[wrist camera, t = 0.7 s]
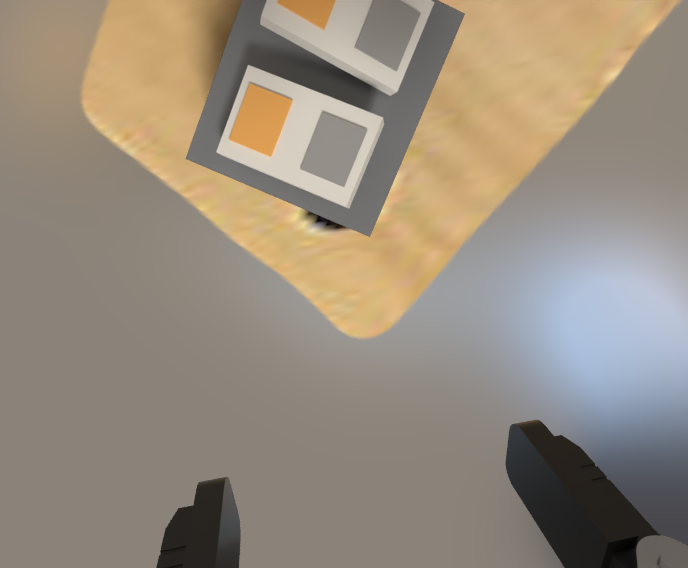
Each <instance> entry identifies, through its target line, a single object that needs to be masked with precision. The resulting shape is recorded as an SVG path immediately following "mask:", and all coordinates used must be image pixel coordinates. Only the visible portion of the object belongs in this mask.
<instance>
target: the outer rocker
mask: <svg viewBox="0 0 688 568" xmlns="http://www.w3.org/2000/svg"><path fill="white" fill-rule="evenodd" d="M383 126H384V120H383V117H380V116H378V115H375V114H373V113H370V112H368V111H365V110H363V109H360V108H357V107H355V106H352V105H350V104H347V103H345V102H342V101H340V100H337V99H334V98H332V97H329V96H327V95H324V94H322V93H319V92H316V91H314V90H311V89H309V88H306V87H304V86H301V85H299V84H296V83H293V82H291V81H288V80H286V79H283V78H281V77H278V76H276V75H273V74H270V73H268V72H265V71H263V70H260V69H258V68H255V67H252V66H250V65H248V66H247V69H246V72H245V75H244V77H243V80H242V83H241V86H240V88H239V91H238V94H237V97H236V99H235V102H234V105H233V108H232V110H231V113H230V116H229V119H228V121H227V124H226V127H225V129H224V132H223V135H222V138H221V140H220V143H219V146H218V149H217V151H216V152H217V153H219V154H221V155H222V156H224V157H227V158H229V159H231V160H234V161H236V162H238V163H241V164H243V165H246V166H248V167H250V168H253V169H255V170H258V171H260V172H262V173H265V174H267V175H269V176H272V177H274V178H277V179H279V180H281V181H284V182H286V183H289V184H291V185H293V186H296V187H298V188H300V189H303V190H305V191H308V192H310V193H312V194H315V195H317V196H320V197H322V198H324V199H327V200H329V201H332V202H334V203H336V204H339V205H341V206H343V207H346V208H348V209H349V208H350V206H351V203H352V201H353V198H354V196H355V194H356V191H357V189H358V186H359V184H360V182H361V179H362V177H363V174H364V172H365V170H366V167H367V165H368V162H369V160H370V157H371V155H372V153H373V150H374V148H375V145H376V143H377V141H378V138H379V136H380V133H381V131H382V129H383Z"/></svg>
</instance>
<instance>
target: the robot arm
mask: <svg viewBox="0 0 688 568" xmlns="http://www.w3.org/2000/svg"><path fill="white" fill-rule="evenodd" d="M506 469H507V474H508V477H509V479H510V482H511V484H512V485H513V487H514V489H515V490H516V492H517V493H518V495H519V497H520V498H521V500H522V501H523V503H524V504H525V506H526V508H527V509H528V511H529V512H530V514H531V515H532V517H533V519H534V520H535V522H536V523H537V525H538V526H539V528H540V530H541V531H542V533H543V534H544V536H545V537H546V539H547V541H548V542H549V544H550V545H551V547H552V549H553V550H554V552H555V553H556V555H557V556H558V558H559V559H560V561H561V563H562V564H563V566H564V567H565V568H688V547H687V546H686V545H684V544H682V543H680V542H678V541H676V540H674V539H671V538H668V537H664V536H660V535H659V534H658V533H657V532H656V531H655V530H654V529H653V528H652V526H651V525H650V524H649V523H648V522H647V521H646V520H645V519H644V518H643V517H642V515H641V514H640V513H639V512H638V511H637V510H636V509H635V508H634V506H633V505H632V504H631V503H630V502H629V501H628V500H627V499H626V498H625V497H624V495H623V494H622V493H621V492H620V491H619V490H618V489H617V488H616V487H615V485H614V484H613V483H612V482H611V481H610V480H607V478H606V476H605V474H604V473H603V472H602V471H601V470H600V469H599V468H598V467H596V466H595V463H594V462H593V461H592V460H591V459H590V458H589V457H588V455H587V454H586V453H585V452H584V451H583V450H582V449H581V448H580V447H579V446H577V445H576V444H574V443H573V442H571V441H570V440H568V439H567V438H565V437H563V436H562V435H560V436H553V434H552V433H551V432H550V431H549V430H548V428H547V427H546V426H545V425H544V424H543V423H542V422H541V421H539V420H533V421H527V422H522V423H516V424H512V425H511V427H510V430H509V438H508V448H507V456H506ZM239 555H240V520H239V515H238V511H237V507H236V504H235V499H234V495H233V492H232V488H231V484H230V480H229V478H228V477H224V478H218V479H213V480H208V481H203V482H199V483H198V485H197V489H196V495H195V500H194V506H188V507H183V508H178V510H177V512H176V514H175V515H174V516H173V518H172V520H171V521H170V523H169V524H168V526H167V528H166V530H165V534H164V538H163V542H162V546H161V554H160V556H159V559H158V563H157V568H239Z"/></svg>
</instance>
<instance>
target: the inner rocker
mask: <svg viewBox="0 0 688 568" xmlns="http://www.w3.org/2000/svg"><path fill="white" fill-rule="evenodd" d="M433 5H434V2H433V1H431V0H267V1H266V4H265V6H264V9H263V12H262V15H261V20H260V25H262V26H264V27H266V28H268V29H269V30H271V31H273V32H275V33H277V34H279V35H280V36H282V37H284V38H286V39H288V40H289V41H291V42H293V43H295V44H297V45H298V46H300V47H302V48H304V49H306V50H308V51H309V52H311V53H313V54H315V55H317V56H318V57H320V58H322V59H324V60H326V61H327V62H329V63H331V64H333V65H335V66H337V67H338V68H340V69H342V70H344V71H346V72H347V73H349V74H351V75H353V76H355V77H357V78H358V79H360V80H362V81H364V82H366V83H367V84H369V85H371V86H373V87H375V88H376V89H378V90H380V91H382V92H384V93H386V94H387V95H389V96H391V95H393V94H394V93H396V92H397V91H398V89H399V87H400V84H401V82H402V79H403V77H404V75H405V72H406V70H407V67H408V65H409V62H410V60H411V58H412V55H413V53H414V50H415V48H416V46H417V43H418V41H419V38H420V36H421V34H422V31H423V29H424V26H425V24H426V22H427V19H428V17H429V14H430V12H431V9H432V7H433Z"/></svg>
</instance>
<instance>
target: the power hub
mask: <svg viewBox="0 0 688 568" xmlns="http://www.w3.org/2000/svg"><path fill="white" fill-rule="evenodd" d="M266 1H267V0H242V2H241V5H240V7H239V10H238V13H237V16H236V19H235V21H234V24H233V27H232V30H231V33H230V35H229V38H228V41H227V44H226V47H225V50H224V52H223V55H222V58H221V61H220V64H219V66H218V69H217V72H216V75H215V78H214V80H213V83H212V86H211V89H210V92H209V95H208V97H207V100H206V103H205V106H204V109H203V111H202V114H201V117H200V120H199V123H198V125H197V128H196V131H195V134H194V137H193V140H192V142H191V145H190V148H189V151H188V154H187V156H186V159H187V160H190V161H192V162H194V163H197V164H199V165H202V166H204V167H206V168H209V169H211V170H213V171H216V172H218V173H220V174H223V175H225V176H227V177H230V178H232V179H235V180H237V181H239V182H242V183H244V184H246V185H249V186H251V187H253V188H256V189H258V190H261V191H263V192H265V193H268V194H270V195H272V196H275V197H277V198H279V199H282V200H284V201H286V202H289V203H291V204H294V205H296V206H298V207H301V208H303V209H305V210H308V211H310V212H312V213H315V214H317V215H320V216H322V217H324V218H327V219H329V220H331V221H334V222H336V223H338V224H341V225H343V226H345V227H348V228H350V229H353V230H355V231H357V232H360V233H362V234H364V235H367V236H369V237H370V235H371V233H372V231H373V228H374V226H375V224H376V221H377V219H378V217H379V214H380V212H381V210H382V207H383V205H384V203H385V200H386V198H387V195H388V193H389V191H390V188H391V186H392V184H393V181H394V179H395V177H396V174H397V172H398V170H399V167H400V165H401V163H402V160H403V158H404V156H405V153H406V151H407V149H408V146H409V144H410V142H411V139H412V137H413V134H414V132H415V130H416V127H417V125H418V123H419V120H420V118H421V116H422V113H423V111H424V109H425V106H426V104H427V102H428V99H429V97H430V95H431V92H432V90H433V88H434V85H435V83H436V80H437V78H438V76H439V73H440V71H441V69H442V66H443V64H444V62H445V59H446V57H447V55H448V52H449V50H450V48H451V45H452V43H453V41H454V38H455V36H456V34H457V31H458V29H459V26H460V24H461V22H462V19H463V17H464V15H465V14H464V13H462V12H460V11H458V10H456V9H454V8H452V7H450V6H448V5H446V4H444V3H442V2H440V1H438V0H431V1H433V2H434V5H433V7H432V9H431V12H430V14H429V17H428V19H427V22H426V24H425V26H424V29H423V31H422V34H421V36H420V38H419V41H418V43H417V46H416V48H415V50H414V53H413V55H412V58H411V60H410V62H409V65H408V67H407V70H406V72H405V75H404V77H403V79H402V82H401V84H400V87H399V89H398V91H397V92H396V93H394V94H393V95H391V96H389V95H387V94H386V93H384V92H382V91H380V90H378V89H376V88H375V87H373V86H371V85H369V84H367V83H366V82H364V81H362V80H360V79H358V78H357V77H355V76H353V75H351V74H349V73H347V72H346V71H344V70H342V69H340V68H338V67H337V66H335V65H333V64H331V63H329V62H327V61H326V60H324V59H322V58H320V57H318V56H317V55H315V54H313V53H311V52H309V51H308V50H306V49H304V48H302V47H300V46H298V45H297V44H295V43H293V42H291V41H289V40H288V39H286V38H284V37H282V36H280V35H279V34H277V33H275V32H273V31H271V30H269V29H268V28H266V27H264V26H262V25H260V20H261V15H262V12H263V9H264V6H265V4H266ZM248 65H250V66H252V67H255V68H258V69H260V70H263V71H265V72H268V73H270V74H273V75H276V76H278V77H281V78H283V79H286V80H288V81H291V82H293V83H296V84H299V85H301V86H304V87H306V88H309V89H311V90H314V91H316V92H319V93H322V94H324V95H327V96H329V97H332V98H334V99H337V100H340V101H342V102H345V103H347V104H350V105H352V106H355V107H357V108H360V109H363V110H365V111H368V112H370V113H373V114H375V115H378V116H380V117H383V120H384V126H383V129H382V131H381V133H380V136H379V138H378V141H377V143H376V145H375V148H374V150H373V153H372V155H371V157H370V160H369V162H368V165H367V167H366V170H365V172H364V174H363V177H362V179H361V182H360V184H359V186H358V189H357V191H356V194H355V196H354V198H353V201H352V203H351V206H350V208H349V209H348V208H346V207H343V206H341V205H339V204H336V203H334V202H332V201H329V200H327V199H324V198H322V197H320V196H317V195H315V194H312V193H310V192H308V191H305V190H303V189H300V188H298V187H296V186H293V185H291V184H289V183H286V182H284V181H281V180H279V179H277V178H274V177H272V176H269V175H267V174H265V173H262V172H260V171H258V170H255V169H253V168H250V167H248V166H246V165H243V164H241V163H238V162H236V161H234V160H231V159H229V158H227V157H224V156H222V155H221V154H219V153H217V152H216V151H217V149H218V146H219V143H220V140H221V138H222V135H223V132H224V129H225V127H226V124H227V121H228V119H229V116H230V113H231V110H232V108H233V105H234V102H235V99H236V97H237V94H238V91H239V88H240V86H241V83H242V80H243V77H244V75H245V72H246V69H247V66H248Z"/></svg>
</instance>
